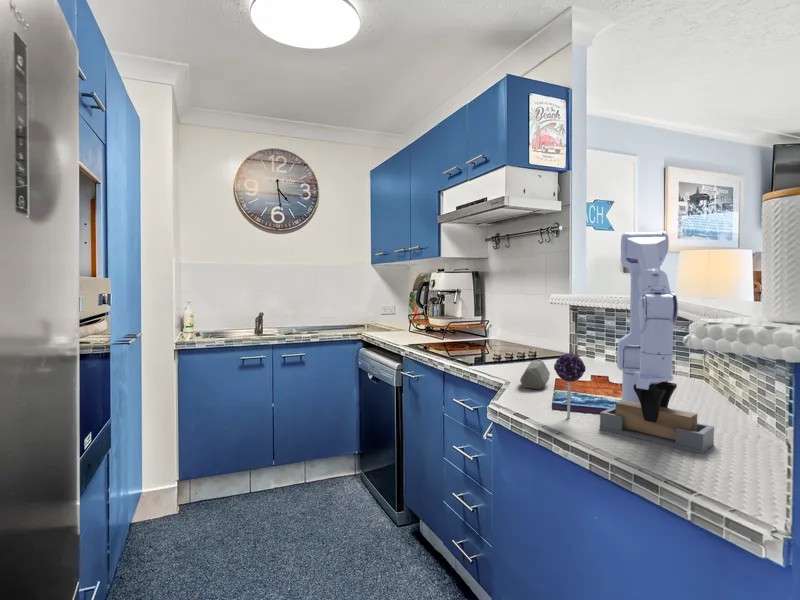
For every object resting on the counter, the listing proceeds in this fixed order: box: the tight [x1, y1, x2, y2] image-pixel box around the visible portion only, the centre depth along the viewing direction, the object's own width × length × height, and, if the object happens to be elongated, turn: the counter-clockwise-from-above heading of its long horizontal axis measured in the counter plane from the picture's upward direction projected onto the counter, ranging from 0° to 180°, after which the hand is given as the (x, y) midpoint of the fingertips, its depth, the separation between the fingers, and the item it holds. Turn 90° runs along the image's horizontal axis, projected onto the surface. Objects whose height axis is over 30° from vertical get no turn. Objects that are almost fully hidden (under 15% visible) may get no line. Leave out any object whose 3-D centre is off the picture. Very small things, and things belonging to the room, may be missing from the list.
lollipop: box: [553, 353, 587, 419], centre depth 106 cm, size 7×7×15 cm
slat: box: [615, 399, 698, 440], centre depth 94 cm, size 4×14×5 cm, turn 42°
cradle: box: [599, 406, 715, 455], centre depth 94 cm, size 8×19×4 cm, turn 42°
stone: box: [519, 358, 550, 390], centre depth 140 cm, size 12×8×8 cm, turn 154°
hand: (654, 419), depth 94 cm, fingers closed on slat, 4 cm apart
